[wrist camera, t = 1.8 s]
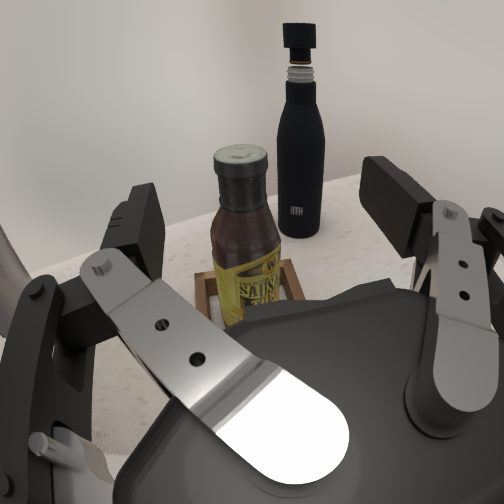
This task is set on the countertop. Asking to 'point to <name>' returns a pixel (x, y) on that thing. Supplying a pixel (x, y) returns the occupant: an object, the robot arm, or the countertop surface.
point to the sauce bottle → (244, 233)
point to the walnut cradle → (208, 286)
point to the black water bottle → (300, 140)
